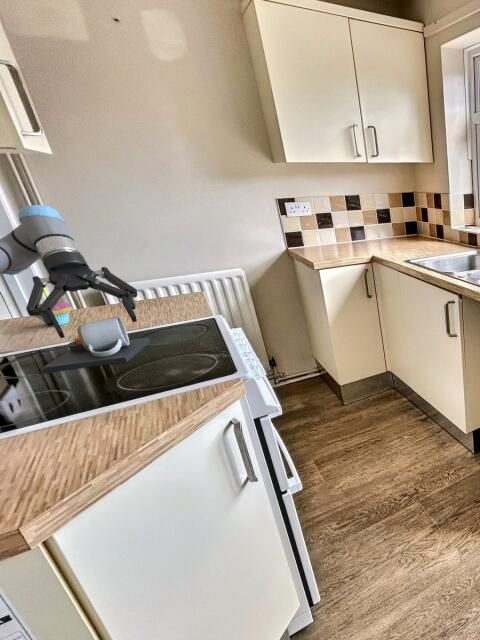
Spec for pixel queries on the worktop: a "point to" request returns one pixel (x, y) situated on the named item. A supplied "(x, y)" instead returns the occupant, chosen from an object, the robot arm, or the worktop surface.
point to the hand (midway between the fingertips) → (99, 327)
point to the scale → (85, 358)
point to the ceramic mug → (103, 336)
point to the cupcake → (59, 311)
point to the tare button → (77, 340)
